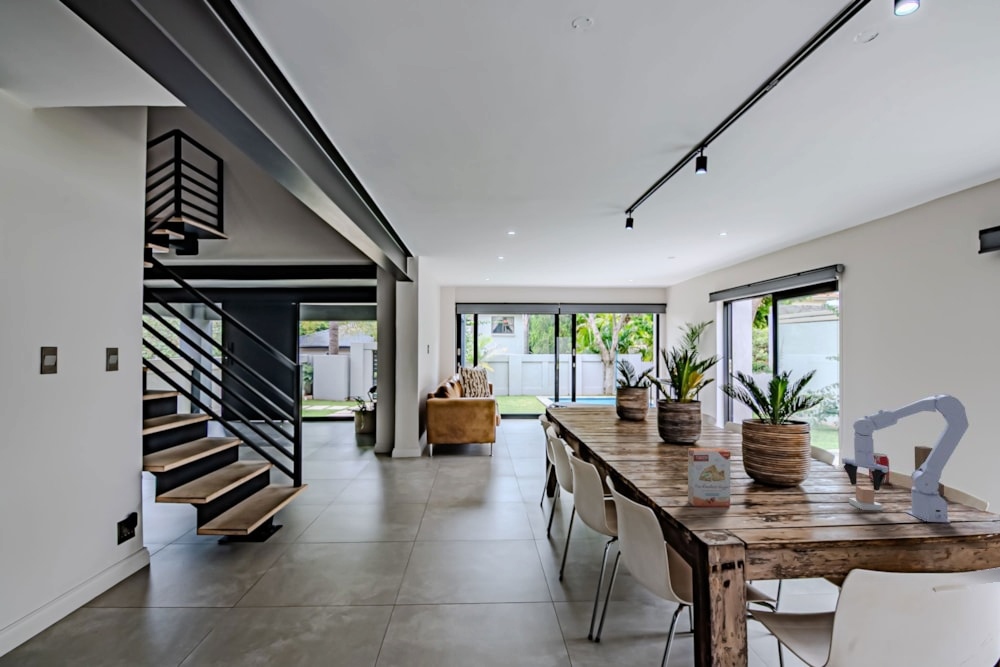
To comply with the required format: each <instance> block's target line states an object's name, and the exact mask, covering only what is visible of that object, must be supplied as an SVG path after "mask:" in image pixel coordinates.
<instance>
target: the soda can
mask: <svg viewBox="0 0 1000 667" xmlns="http://www.w3.org/2000/svg"><path fill="white" fill-rule="evenodd" d="M874 463H876V464H879V465H883V466H887V467H888V472H887V474H886V475H885V477H884V478H883V480H882V482H881V484H886V483H888V482H889V481H890V460H889V458H888V455H887V454H884V453H878V452H874ZM871 471H875V470H872V469H868V477H869V480H870V481H872V482H873V476H872V473H871Z"/></svg>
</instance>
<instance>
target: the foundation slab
mask: <svg viewBox="0 0 1000 667" xmlns="http://www.w3.org/2000/svg"><path fill="white" fill-rule="evenodd" d="M848 500H849V501H848V502H849V504H850V505H852V506H854V507H855V508H857V509H859V508H860V510H861V509H862V511H883V504H882V503H881V504H880V503H879V502H876V501H875V500H874V504H873V503H862V502H860V501H858V500H856V497H849V498H848Z"/></svg>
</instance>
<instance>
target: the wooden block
mask: <svg viewBox="0 0 1000 667" xmlns="http://www.w3.org/2000/svg"><path fill="white" fill-rule="evenodd" d="M932 449H933V448H932V447H929V446H925V445H924V446H923V445H922V446H919V445H916V446H914V471H916V470H918V469H919V468H920V466H921V465H922V464H923V463H924V462H925V461H926V459H927V458H928V456H929V454H930V452H931V451H932ZM938 483H939V488H938V490H937V491H938V492H939V495H940V497H941V496H943V497H944V496H945V485H944V484H943V483H942V482H940V481H939V482H938Z"/></svg>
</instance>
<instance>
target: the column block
mask: <svg viewBox="0 0 1000 667" xmlns="http://www.w3.org/2000/svg"><path fill="white" fill-rule="evenodd" d="M855 498H856V500H858V501H860V502H862V503H873V504H874V501H875V490H874V488H871V487H869V486H863V485H862V486H860V485H859V486H858V485H857V486H855Z"/></svg>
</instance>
